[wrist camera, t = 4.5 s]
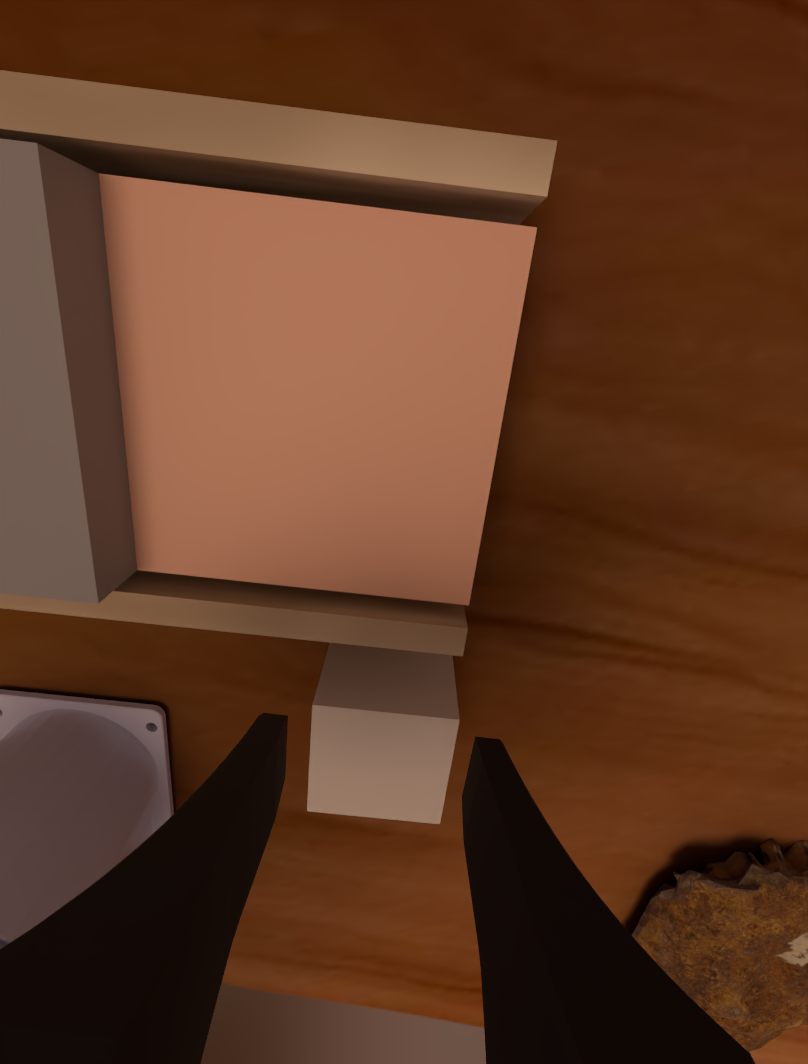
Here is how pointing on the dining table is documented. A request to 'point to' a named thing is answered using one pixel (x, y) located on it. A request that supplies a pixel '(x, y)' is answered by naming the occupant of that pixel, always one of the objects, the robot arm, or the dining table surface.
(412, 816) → the beige cube
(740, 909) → the decorative rock
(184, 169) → the frame
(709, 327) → the dining table surface
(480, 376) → the trapdoor
